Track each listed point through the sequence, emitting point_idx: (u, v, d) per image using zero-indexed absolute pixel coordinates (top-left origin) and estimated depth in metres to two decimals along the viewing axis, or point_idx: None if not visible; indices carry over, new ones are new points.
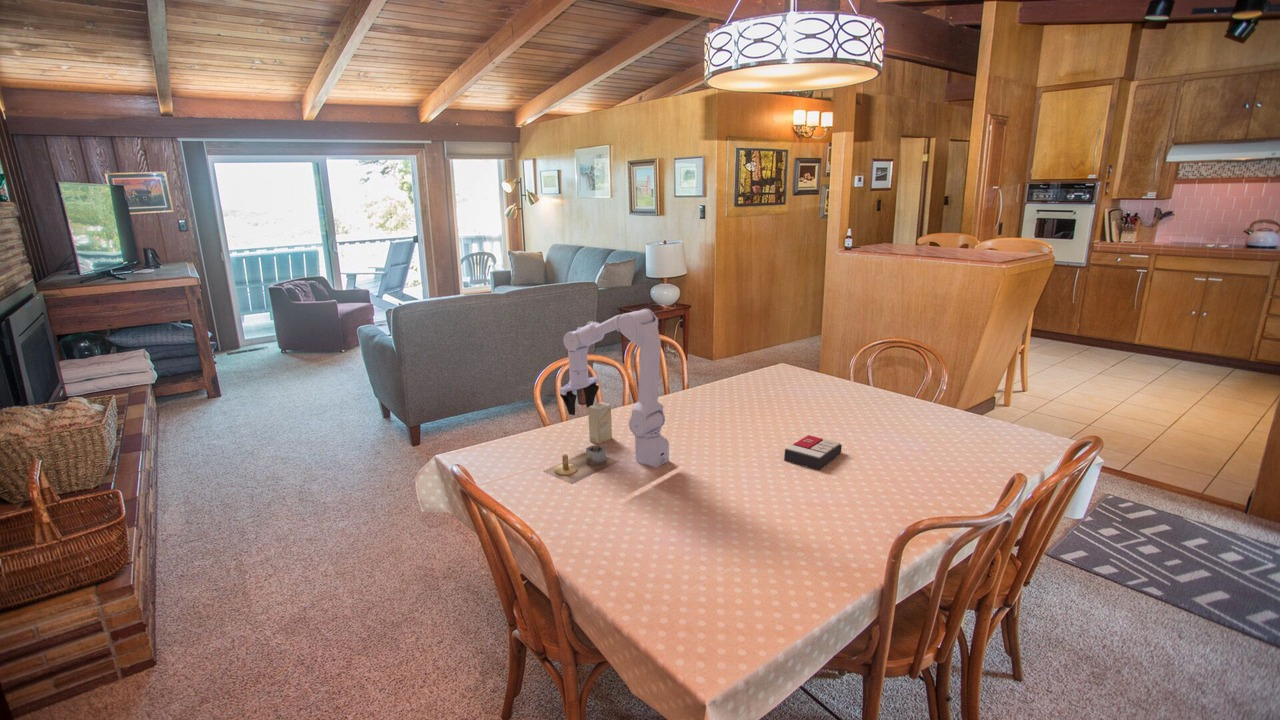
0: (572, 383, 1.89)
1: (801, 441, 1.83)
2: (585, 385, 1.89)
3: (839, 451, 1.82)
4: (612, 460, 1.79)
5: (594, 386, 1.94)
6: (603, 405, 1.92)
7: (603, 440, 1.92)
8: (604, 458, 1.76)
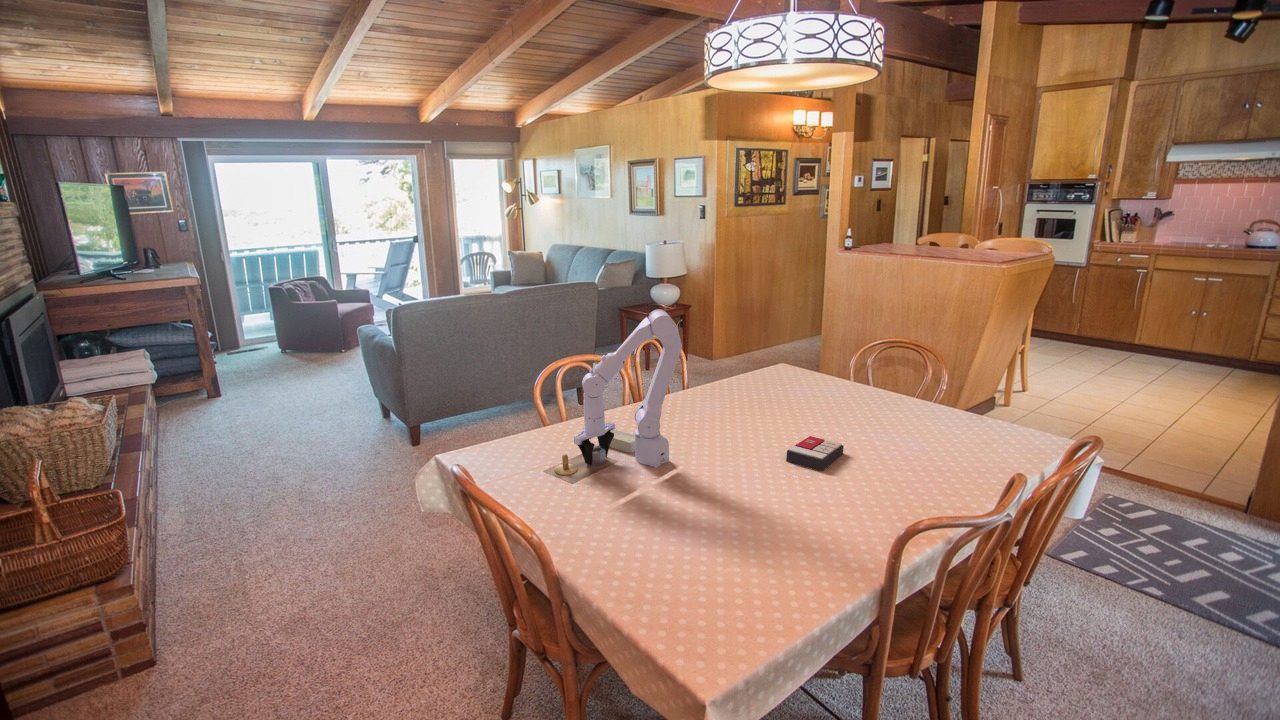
0: (587, 431, 1.73)
1: (803, 442, 1.82)
2: (601, 433, 1.73)
3: (841, 452, 1.81)
4: (612, 460, 1.79)
5: (611, 433, 1.78)
6: None
7: None
8: (604, 458, 1.76)
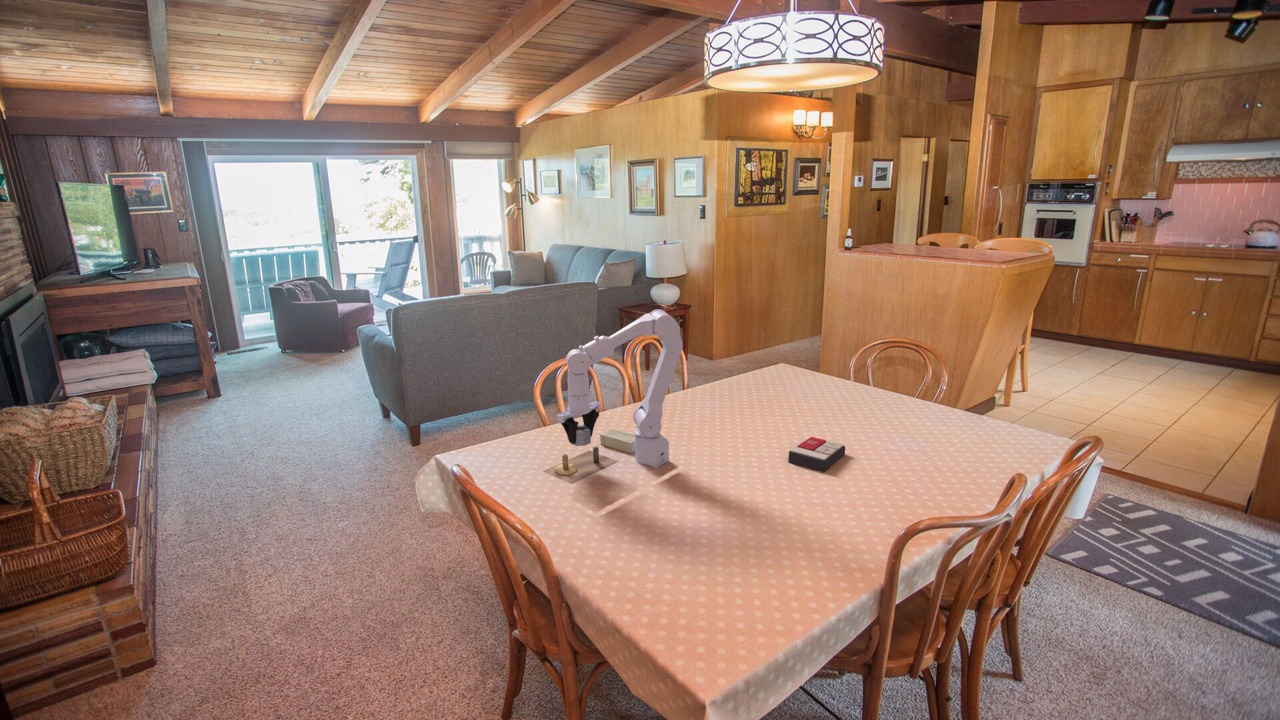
0: (571, 409, 1.69)
1: (805, 443, 1.82)
2: (586, 411, 1.69)
3: (843, 453, 1.81)
4: (612, 460, 1.79)
5: (596, 412, 1.74)
6: None
7: None
8: (588, 437, 1.72)
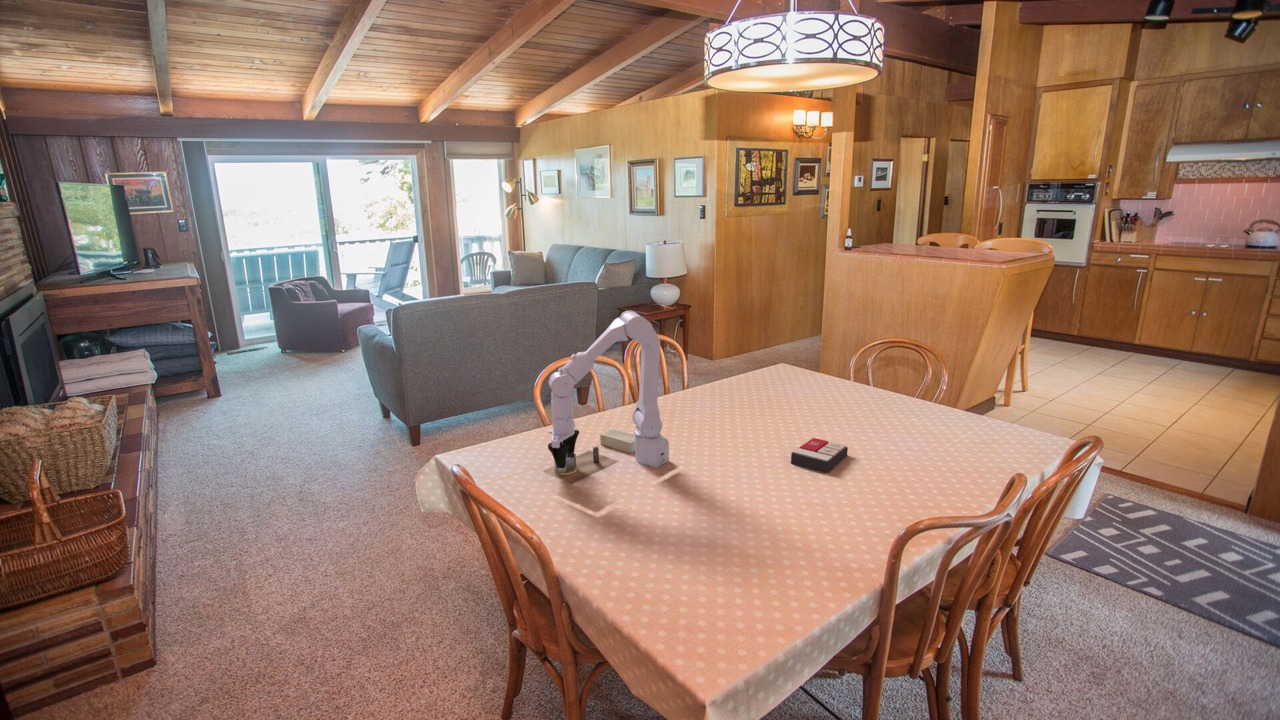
0: (560, 433, 1.67)
1: (807, 444, 1.81)
2: (573, 432, 1.70)
3: (845, 454, 1.80)
4: (612, 460, 1.79)
5: (575, 431, 1.75)
6: None
7: None
8: (575, 462, 1.73)
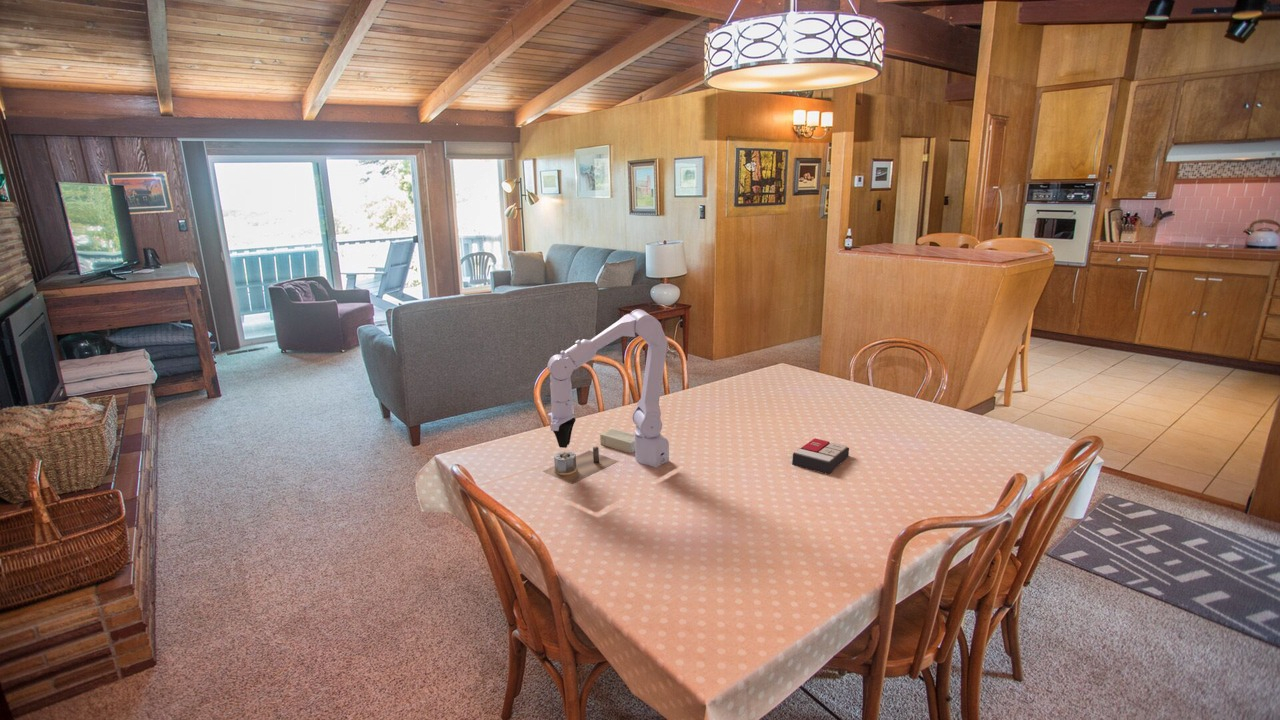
0: (559, 416, 1.66)
1: (808, 445, 1.81)
2: (572, 416, 1.68)
3: (847, 454, 1.79)
4: (612, 460, 1.79)
5: None
6: None
7: None
8: (575, 462, 1.73)
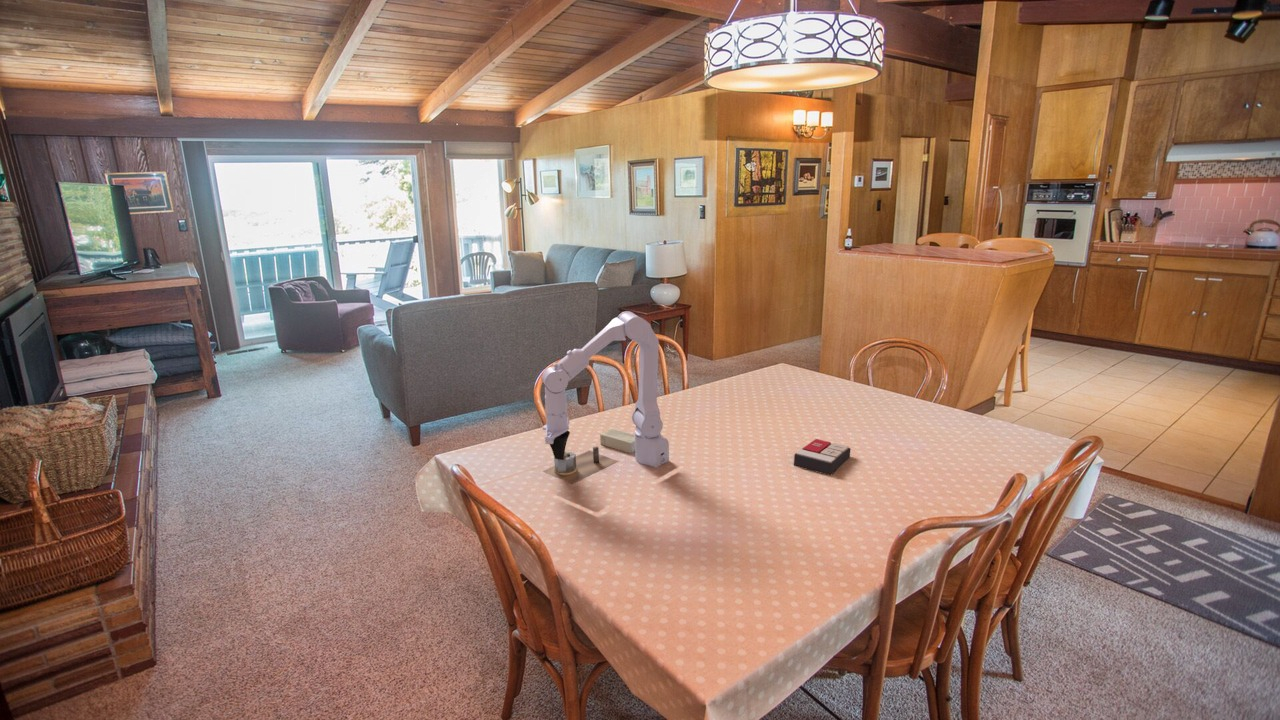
0: (554, 429, 1.65)
1: (810, 445, 1.80)
2: (567, 428, 1.68)
3: (848, 455, 1.79)
4: (612, 460, 1.79)
5: None
6: None
7: None
8: (575, 462, 1.73)
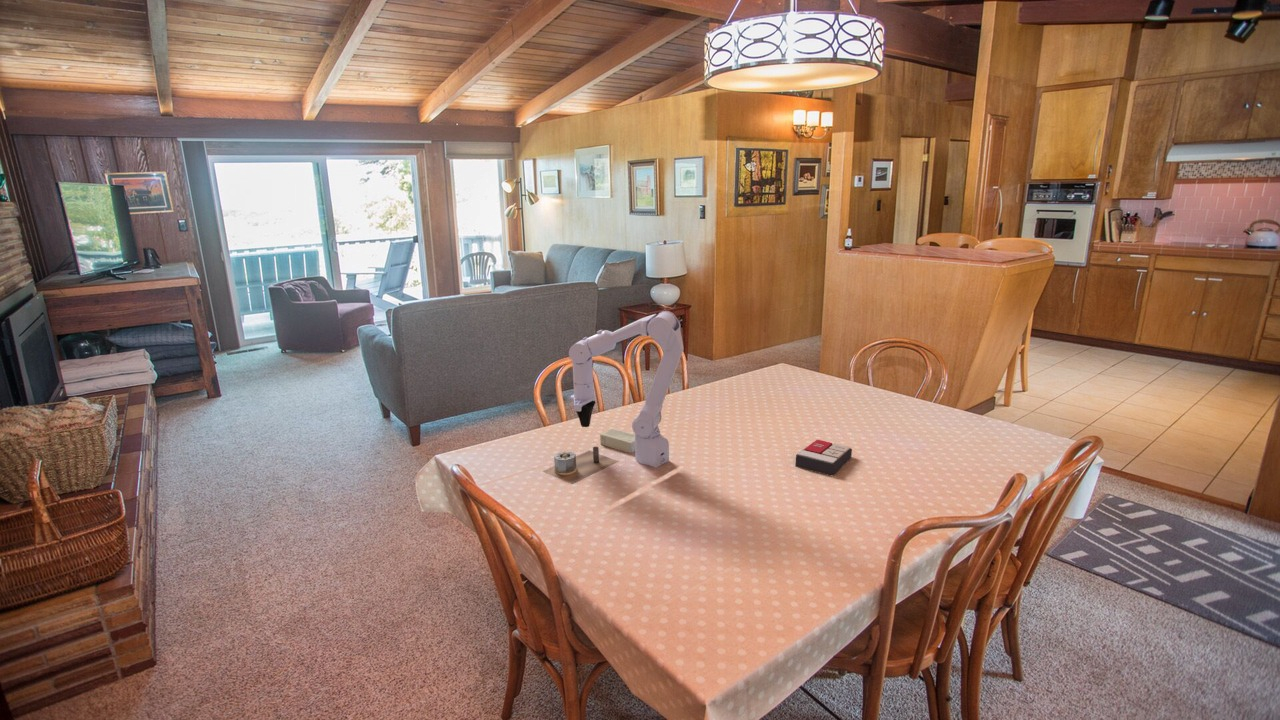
0: (581, 398, 1.77)
1: (811, 446, 1.80)
2: (593, 397, 1.79)
3: (850, 455, 1.79)
4: (612, 460, 1.79)
5: None
6: None
7: None
8: (575, 462, 1.73)
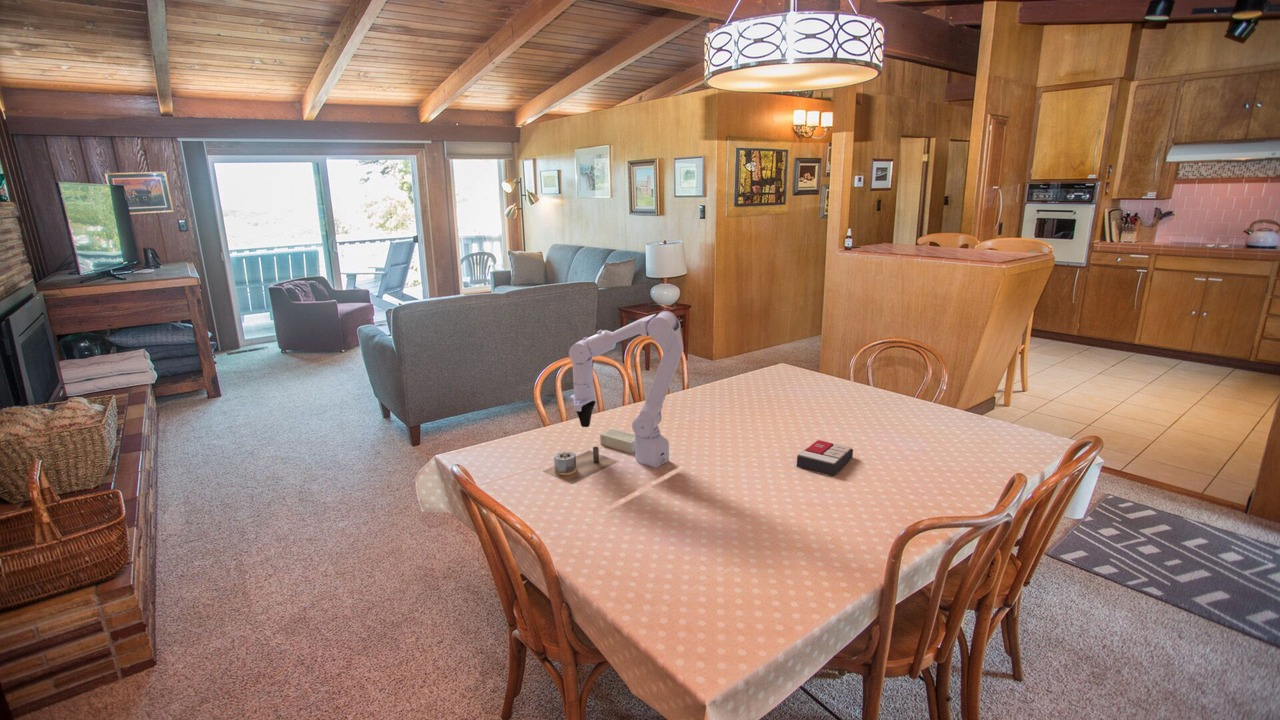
0: (581, 398, 1.77)
1: (812, 446, 1.79)
2: (593, 397, 1.79)
3: (851, 456, 1.78)
4: (612, 460, 1.79)
5: None
6: None
7: None
8: (575, 462, 1.73)
